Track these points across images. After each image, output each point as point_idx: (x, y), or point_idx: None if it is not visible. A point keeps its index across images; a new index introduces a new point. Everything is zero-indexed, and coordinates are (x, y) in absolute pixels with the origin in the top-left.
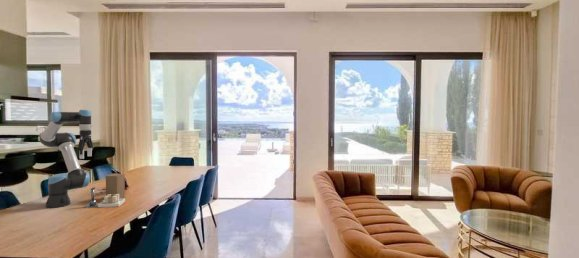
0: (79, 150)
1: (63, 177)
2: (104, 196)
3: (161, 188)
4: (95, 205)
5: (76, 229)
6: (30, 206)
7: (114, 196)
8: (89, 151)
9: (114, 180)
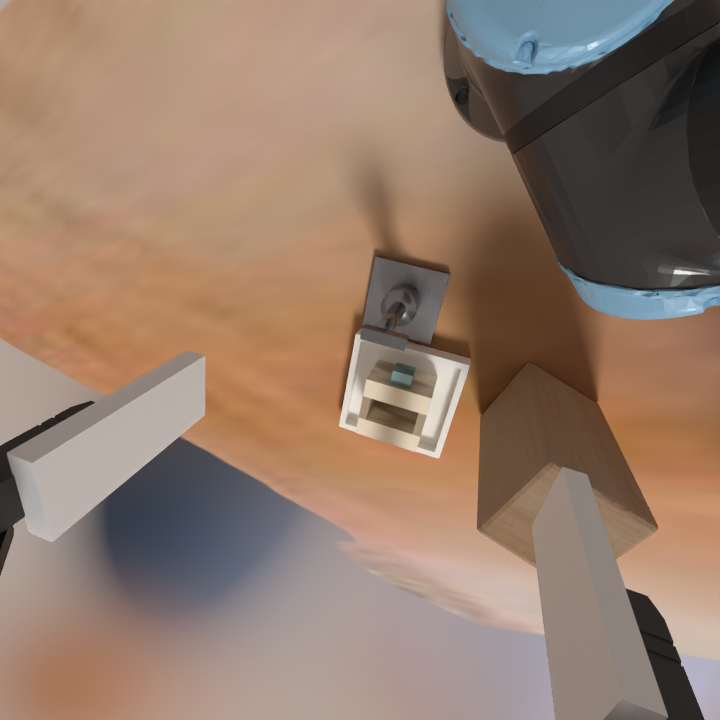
0: (19, 449)
1: (475, 44)
2: (403, 377)
3: (673, 642)
4: (381, 317)
5: (81, 280)
6: None
7: (363, 427)
8: (561, 606)
9: (489, 489)
